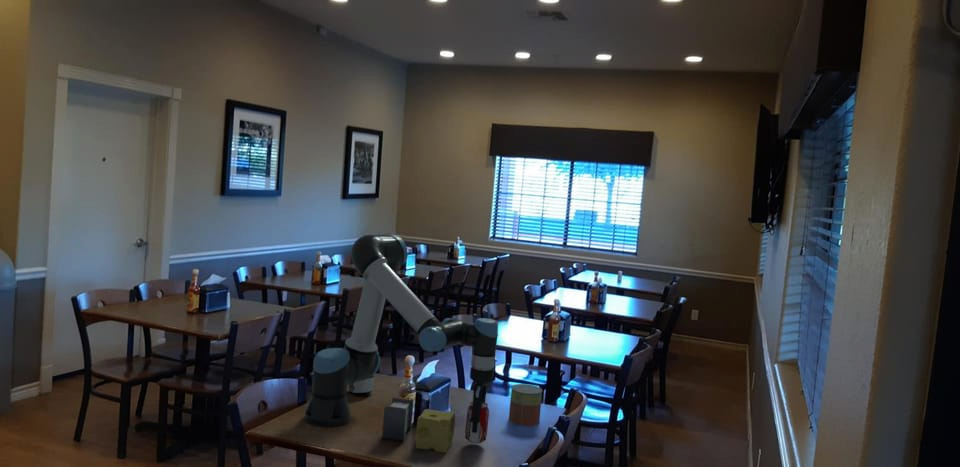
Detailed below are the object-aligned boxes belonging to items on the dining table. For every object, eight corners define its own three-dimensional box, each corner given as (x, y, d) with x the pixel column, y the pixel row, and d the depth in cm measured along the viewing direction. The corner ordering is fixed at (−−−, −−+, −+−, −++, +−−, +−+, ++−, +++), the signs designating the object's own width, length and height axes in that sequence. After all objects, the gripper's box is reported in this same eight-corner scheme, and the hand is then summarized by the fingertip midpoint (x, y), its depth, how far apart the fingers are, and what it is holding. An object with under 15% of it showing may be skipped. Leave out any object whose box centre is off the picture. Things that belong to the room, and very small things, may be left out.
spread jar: (376, 395, 265) (378, 365, 264) (351, 400, 257) (354, 369, 256) (357, 386, 273) (359, 358, 272) (333, 391, 265) (335, 361, 264)
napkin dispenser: (403, 442, 219) (405, 409, 218) (381, 439, 220) (384, 406, 219) (411, 432, 229) (413, 399, 228) (390, 429, 230) (393, 397, 229)
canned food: (532, 415, 257) (535, 383, 256) (544, 426, 246) (547, 393, 245) (504, 416, 253) (507, 384, 252) (514, 427, 242) (517, 393, 242)
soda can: (483, 446, 218) (487, 409, 217) (462, 442, 219) (465, 405, 218) (488, 438, 225) (491, 402, 224) (467, 434, 226) (470, 399, 225)
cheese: (446, 453, 214) (449, 422, 213) (413, 448, 215) (415, 417, 215) (453, 441, 224) (456, 411, 223) (421, 437, 226) (424, 407, 225)
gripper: (489, 377, 210) (482, 450, 211) (498, 361, 229) (491, 428, 231) (465, 374, 211) (458, 446, 212) (475, 358, 230) (469, 425, 232)
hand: (475, 437), depth 222 cm, fingers closed on soda can, 7 cm apart
